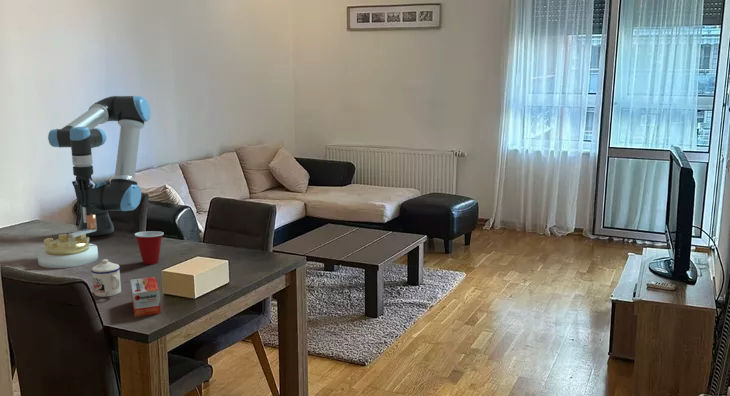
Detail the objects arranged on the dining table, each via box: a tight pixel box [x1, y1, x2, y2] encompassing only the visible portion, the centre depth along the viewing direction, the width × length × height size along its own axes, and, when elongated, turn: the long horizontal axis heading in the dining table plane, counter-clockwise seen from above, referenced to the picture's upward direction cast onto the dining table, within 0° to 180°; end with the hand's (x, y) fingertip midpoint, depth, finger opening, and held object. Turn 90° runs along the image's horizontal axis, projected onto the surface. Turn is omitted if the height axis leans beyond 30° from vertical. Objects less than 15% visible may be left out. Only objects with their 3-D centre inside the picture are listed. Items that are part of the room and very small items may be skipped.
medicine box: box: [129, 276, 162, 318], centre depth 223 cm, size 15×8×8 cm, turn 21°
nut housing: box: [37, 243, 99, 269], centre depth 277 cm, size 22×22×4 cm
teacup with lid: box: [90, 258, 122, 298], centre depth 236 cm, size 12×9×12 cm
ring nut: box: [43, 214, 97, 255], centre depth 279 cm, size 23×16×11 cm
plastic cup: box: [134, 230, 164, 265], centre depth 272 cm, size 11×11×12 cm
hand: (87, 221), depth 288 cm, fingers closed
